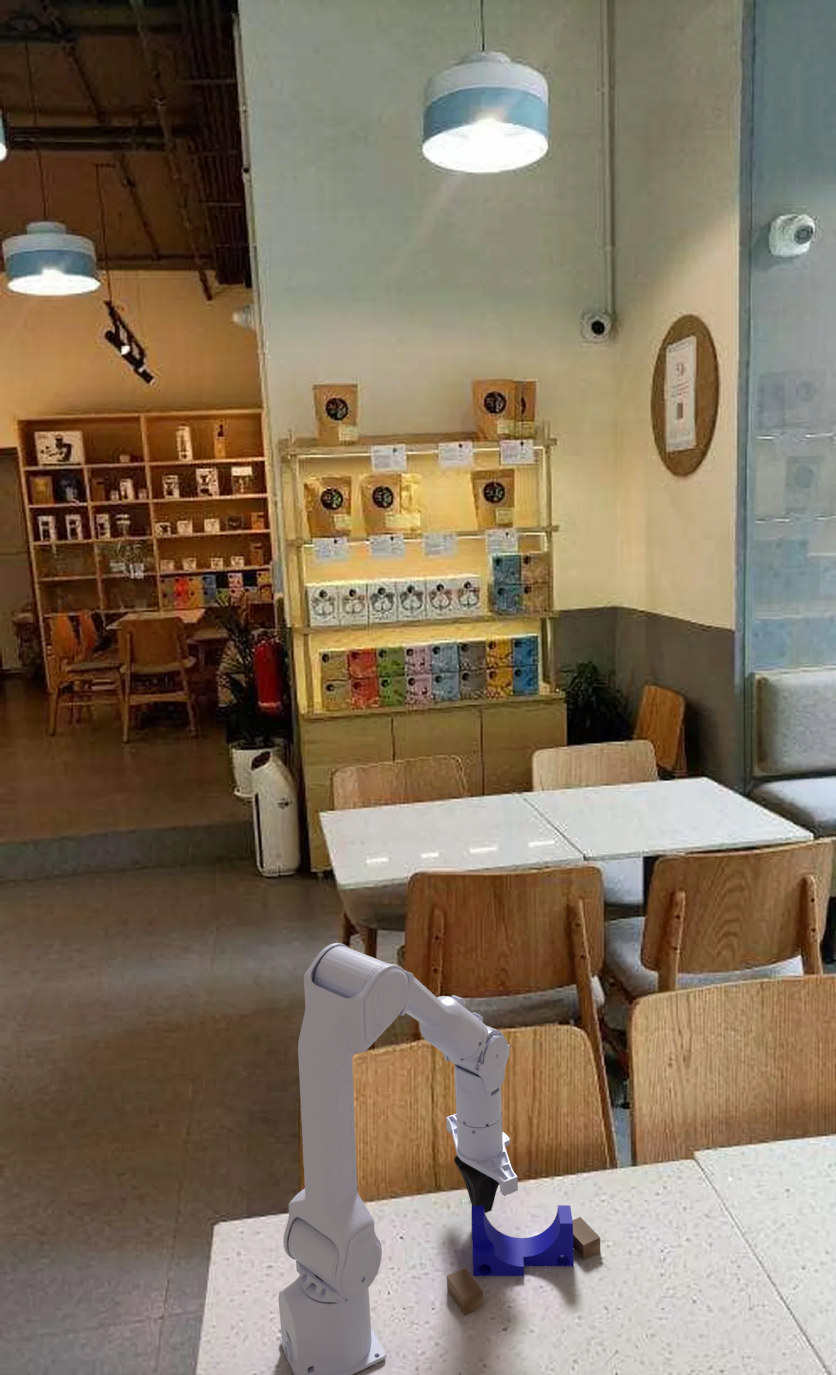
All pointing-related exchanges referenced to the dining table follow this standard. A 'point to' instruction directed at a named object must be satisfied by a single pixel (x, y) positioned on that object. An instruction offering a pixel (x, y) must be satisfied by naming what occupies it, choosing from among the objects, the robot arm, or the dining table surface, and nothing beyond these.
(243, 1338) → the dining table surface
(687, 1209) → the dining table surface
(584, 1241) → the end blocks
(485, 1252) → the blue block with holes
